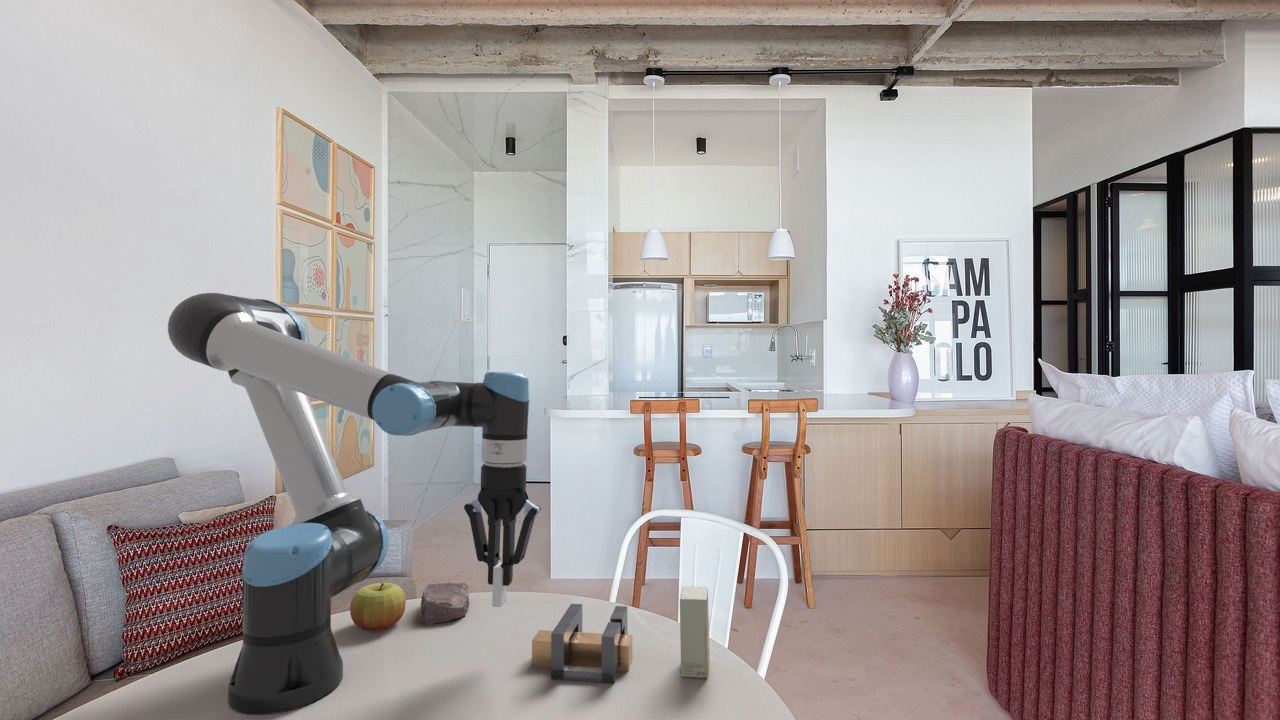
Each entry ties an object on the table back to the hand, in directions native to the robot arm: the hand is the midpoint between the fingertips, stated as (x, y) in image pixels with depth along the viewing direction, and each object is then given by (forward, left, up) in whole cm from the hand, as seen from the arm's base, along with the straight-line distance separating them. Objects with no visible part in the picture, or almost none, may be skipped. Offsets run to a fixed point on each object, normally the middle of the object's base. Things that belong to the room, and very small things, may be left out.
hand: (499, 603), depth 104 cm
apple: (-27, +9, -9) cm, 30 cm away
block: (+14, 0, -9) cm, 17 cm away
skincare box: (+33, 0, -9) cm, 34 cm away
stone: (-18, +17, -9) cm, 27 cm away
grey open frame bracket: (+16, 0, -9) cm, 18 cm away
